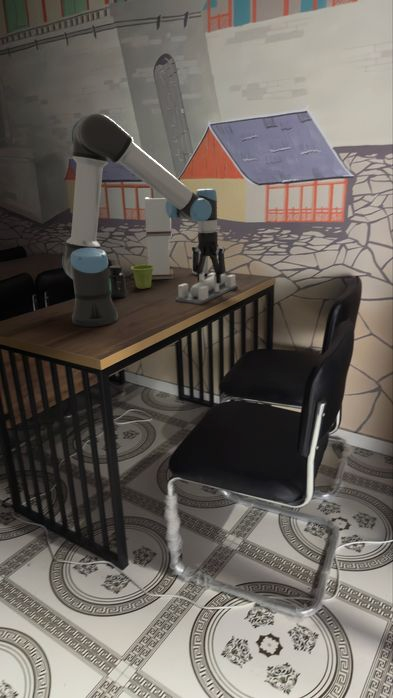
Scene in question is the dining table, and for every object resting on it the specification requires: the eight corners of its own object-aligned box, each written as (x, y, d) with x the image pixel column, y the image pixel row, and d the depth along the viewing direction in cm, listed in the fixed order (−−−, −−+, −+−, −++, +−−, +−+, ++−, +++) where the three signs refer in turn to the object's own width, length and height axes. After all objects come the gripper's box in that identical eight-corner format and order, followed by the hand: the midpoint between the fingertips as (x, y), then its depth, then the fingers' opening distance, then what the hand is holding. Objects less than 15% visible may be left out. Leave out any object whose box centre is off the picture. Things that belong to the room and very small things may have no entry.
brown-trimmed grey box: (172, 278, 224) (169, 198, 212) (149, 279, 224) (144, 198, 211) (173, 273, 235) (170, 196, 222) (150, 274, 235) (146, 197, 222)
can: (192, 272, 236) (192, 247, 232) (208, 272, 236) (208, 246, 231) (191, 275, 229) (191, 249, 225) (208, 275, 229) (207, 249, 224)
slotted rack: (175, 300, 189) (175, 286, 187) (214, 284, 212) (214, 271, 210) (200, 304, 183) (199, 289, 181) (237, 287, 207) (237, 273, 205)
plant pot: (151, 290, 205) (150, 269, 202) (129, 289, 207) (128, 269, 204) (157, 284, 214) (156, 264, 211) (136, 284, 215) (135, 264, 212)
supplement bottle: (109, 299, 193) (106, 268, 189) (108, 294, 199) (106, 265, 195) (126, 297, 194) (124, 267, 190) (125, 293, 201) (123, 264, 196)
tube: (201, 289, 184) (229, 275, 205) (189, 283, 186) (218, 270, 206) (197, 301, 187) (225, 286, 207) (185, 296, 188) (214, 281, 209)
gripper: (234, 230, 187) (235, 290, 195) (191, 229, 197) (194, 286, 205) (224, 233, 181) (225, 295, 189) (181, 231, 191) (184, 290, 199)
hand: (209, 290), depth 197 cm, fingers open, 6 cm apart
